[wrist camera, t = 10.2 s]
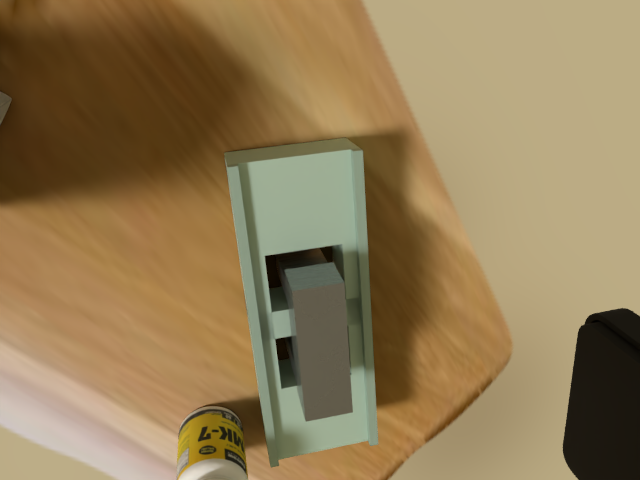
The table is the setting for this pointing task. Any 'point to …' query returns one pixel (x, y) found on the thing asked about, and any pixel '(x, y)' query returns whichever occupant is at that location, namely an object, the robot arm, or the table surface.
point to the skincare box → (4, 105)
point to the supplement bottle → (211, 446)
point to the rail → (271, 304)
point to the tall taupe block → (317, 332)
